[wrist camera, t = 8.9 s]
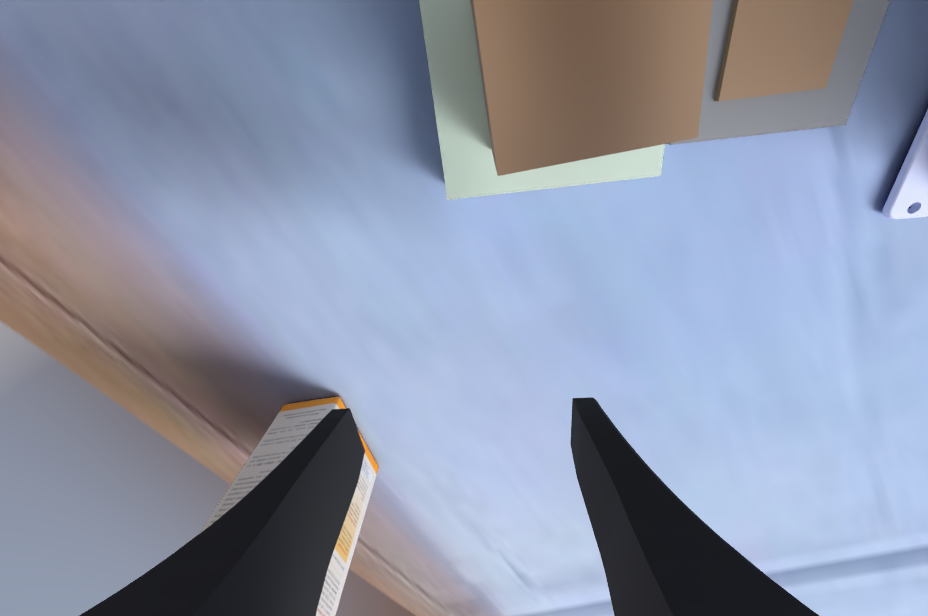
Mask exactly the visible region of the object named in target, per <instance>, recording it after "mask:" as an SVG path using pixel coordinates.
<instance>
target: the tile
mask: <svg viewBox="0 0 928 616" xmlns="http://www.w3.org/2000/svg"><path fill="white" fill-rule="evenodd" d="M889 2H890V0H713V4H712V13H711V22H710V32H709V41H708V50H707V59H706V68H705V77H704V86H703V96H702V105H701V114H700V123H699V132H698V138H693V139H688V140H683V141H678V142H673V143H667V144H670V145H673V144H682V143H691V142H700V141H709V140H717V139H726V138H735V137H744V136H753V135H761V134H770V133H779V132H788V131H797V130H806V129H814V128H823V127H832V126H841V125H846V123H847V120H848V117H849V114H850V112H851V109H852V106H853V103H854V100H855V98H856V95H857V92H858V89H859V86H860V84H861V81H862V78H863V75H864V72H865V70H866V67H867V64H868V61H869V58H870V56H871V53H872V50H873V47H874V44H875V42H876V39H877V36H878V33H879V30H880V28H881V25H882V22H883V19H884V16H885V14H886V11H887V8H888V5H889Z"/></svg>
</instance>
